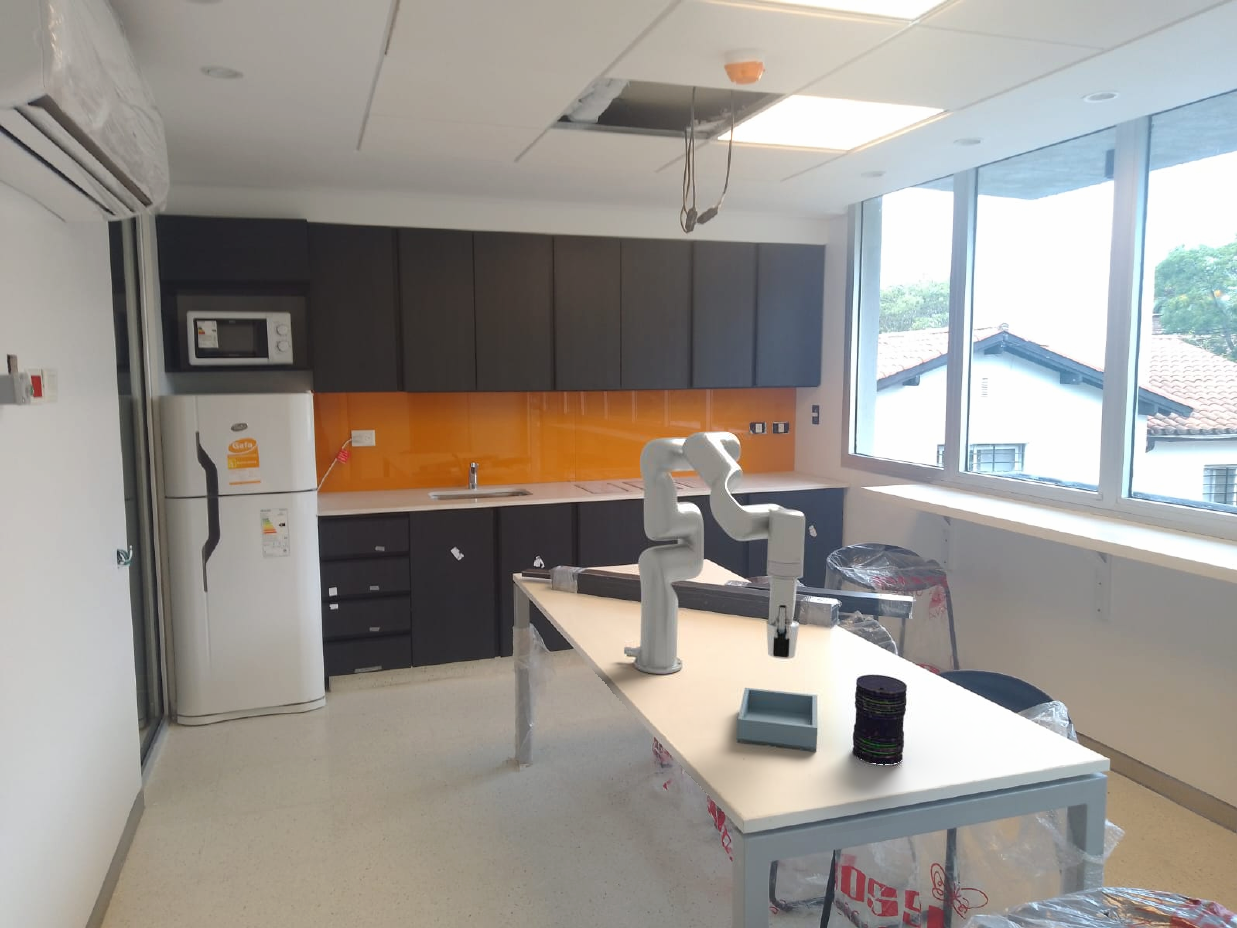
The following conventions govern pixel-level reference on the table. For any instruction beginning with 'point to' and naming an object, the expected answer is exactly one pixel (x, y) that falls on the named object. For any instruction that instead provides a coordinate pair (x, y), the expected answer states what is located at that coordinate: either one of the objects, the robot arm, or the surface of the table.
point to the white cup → (791, 635)
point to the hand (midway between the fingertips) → (781, 650)
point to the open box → (778, 719)
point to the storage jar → (879, 719)
